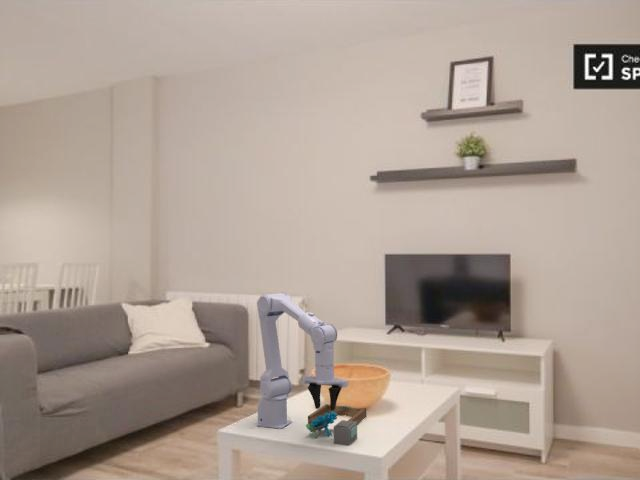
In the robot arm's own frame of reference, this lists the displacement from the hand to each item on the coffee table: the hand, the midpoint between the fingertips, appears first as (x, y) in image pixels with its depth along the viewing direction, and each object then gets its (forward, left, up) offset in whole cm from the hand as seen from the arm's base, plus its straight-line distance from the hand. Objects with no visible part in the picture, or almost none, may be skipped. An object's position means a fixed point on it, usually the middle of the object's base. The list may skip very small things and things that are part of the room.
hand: (325, 408), depth 175 cm
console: (+6, +2, -10) cm, 12 cm away
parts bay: (-4, +19, -10) cm, 22 cm away
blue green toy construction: (-4, +6, -10) cm, 12 cm away
